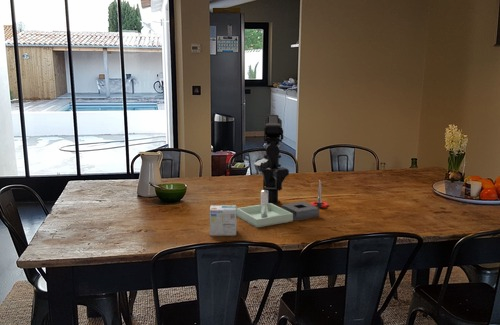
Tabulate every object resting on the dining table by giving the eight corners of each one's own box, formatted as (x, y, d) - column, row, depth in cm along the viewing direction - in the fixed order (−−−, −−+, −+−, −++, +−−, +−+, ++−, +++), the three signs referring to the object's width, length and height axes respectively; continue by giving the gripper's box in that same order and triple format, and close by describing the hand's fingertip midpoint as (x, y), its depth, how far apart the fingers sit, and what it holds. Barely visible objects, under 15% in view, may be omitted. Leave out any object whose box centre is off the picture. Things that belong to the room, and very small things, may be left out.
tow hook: (310, 203, 244) (310, 207, 235) (311, 177, 242) (311, 180, 233) (328, 204, 242) (328, 208, 233) (329, 178, 240) (329, 181, 231)
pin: (259, 216, 218) (259, 190, 216) (265, 215, 220) (265, 189, 217) (262, 218, 215) (263, 192, 213) (269, 217, 217) (269, 191, 215)
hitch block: (281, 213, 226) (281, 204, 225) (302, 209, 231) (303, 201, 231) (296, 220, 215) (296, 211, 215) (318, 216, 221) (319, 208, 220)
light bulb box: (236, 230, 203) (236, 204, 200) (236, 235, 196) (236, 209, 194) (210, 230, 202) (210, 204, 200) (209, 235, 196) (209, 209, 193)
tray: (236, 215, 221) (236, 208, 220) (270, 210, 230) (270, 203, 229) (256, 227, 206) (256, 219, 205) (292, 221, 214) (292, 213, 214)
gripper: (246, 150, 223) (246, 184, 226) (267, 159, 207) (267, 194, 210) (267, 148, 228) (267, 181, 231) (290, 156, 212) (289, 191, 215)
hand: (271, 187), depth 222 cm, fingers open, 9 cm apart
